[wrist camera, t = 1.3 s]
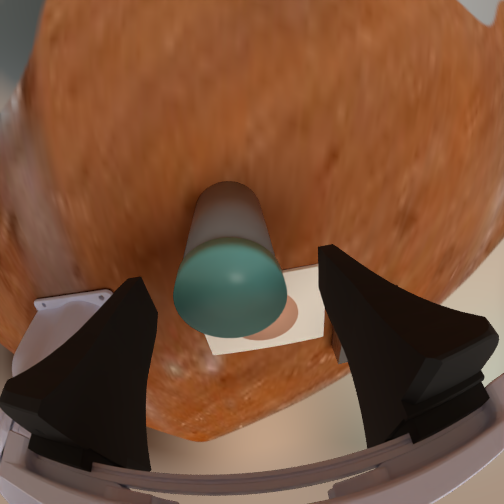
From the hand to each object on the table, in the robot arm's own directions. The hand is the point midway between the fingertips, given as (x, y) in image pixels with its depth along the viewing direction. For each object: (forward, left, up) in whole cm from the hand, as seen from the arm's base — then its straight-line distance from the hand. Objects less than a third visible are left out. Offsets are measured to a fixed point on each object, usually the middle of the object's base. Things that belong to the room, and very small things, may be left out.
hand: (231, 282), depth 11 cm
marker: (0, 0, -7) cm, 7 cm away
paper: (+1, -9, -7) cm, 11 cm away
